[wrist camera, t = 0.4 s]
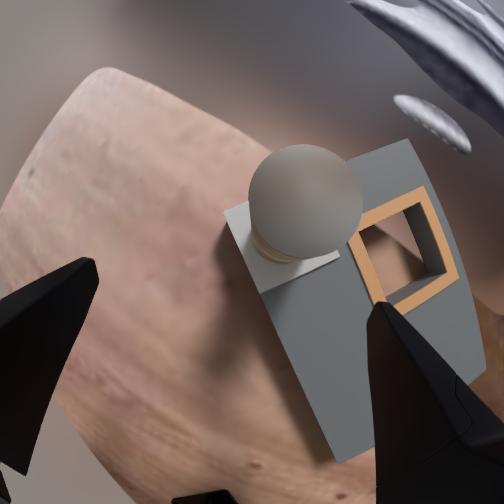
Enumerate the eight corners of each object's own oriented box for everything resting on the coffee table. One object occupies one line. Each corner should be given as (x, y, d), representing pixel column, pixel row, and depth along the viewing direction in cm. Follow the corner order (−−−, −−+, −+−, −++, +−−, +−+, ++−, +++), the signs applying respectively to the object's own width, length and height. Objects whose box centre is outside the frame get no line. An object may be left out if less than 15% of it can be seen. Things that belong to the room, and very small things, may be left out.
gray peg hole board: (468, 362, 22) (488, 369, 19) (330, 446, 22) (338, 465, 19) (393, 151, 24) (409, 137, 20) (227, 219, 23) (222, 211, 20)
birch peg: (321, 249, 20) (380, 228, 10) (267, 274, 20) (278, 277, 10) (296, 195, 20) (330, 130, 10) (242, 218, 20) (229, 169, 10)
